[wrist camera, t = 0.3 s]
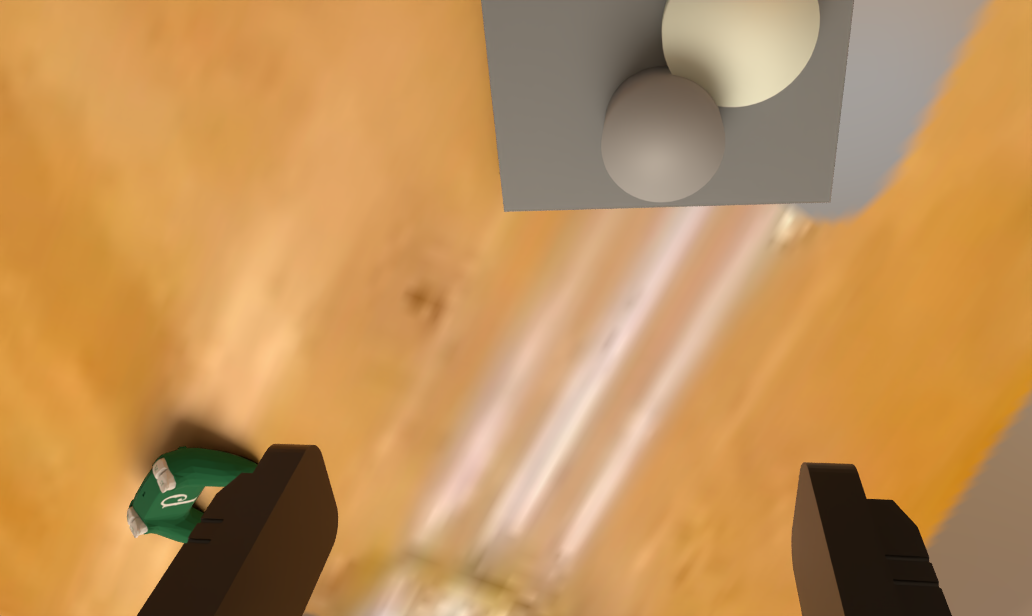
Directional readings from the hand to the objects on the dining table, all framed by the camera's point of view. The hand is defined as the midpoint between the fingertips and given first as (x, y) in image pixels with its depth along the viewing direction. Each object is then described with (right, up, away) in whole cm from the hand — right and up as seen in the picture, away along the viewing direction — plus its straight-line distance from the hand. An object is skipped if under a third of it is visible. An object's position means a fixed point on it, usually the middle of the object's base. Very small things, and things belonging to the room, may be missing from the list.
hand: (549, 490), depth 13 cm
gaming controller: (-22, -9, +41) cm, 47 cm away
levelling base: (+6, +17, +20) cm, 27 cm away
